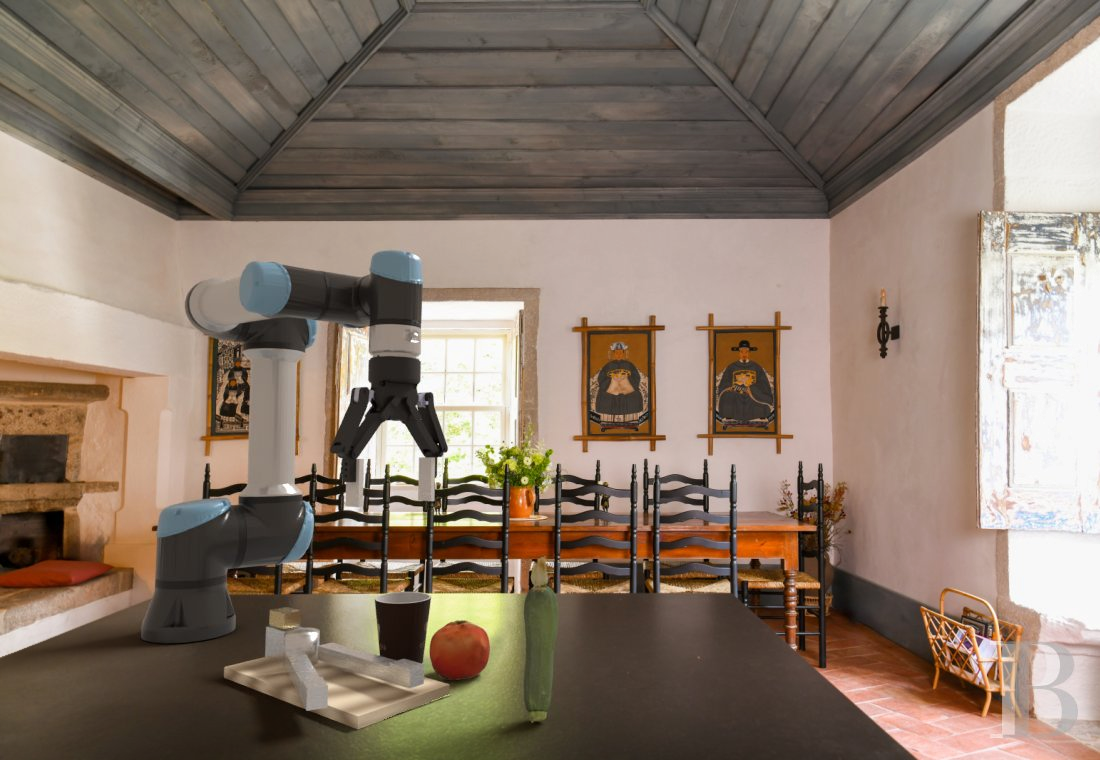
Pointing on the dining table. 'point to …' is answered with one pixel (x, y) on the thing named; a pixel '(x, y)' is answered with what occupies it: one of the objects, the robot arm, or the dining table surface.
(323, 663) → the board
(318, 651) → the base
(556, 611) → the vegetable
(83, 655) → the dining table surface
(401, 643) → the coffee mug
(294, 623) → the tab
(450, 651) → the tomato
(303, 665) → the tong arm
